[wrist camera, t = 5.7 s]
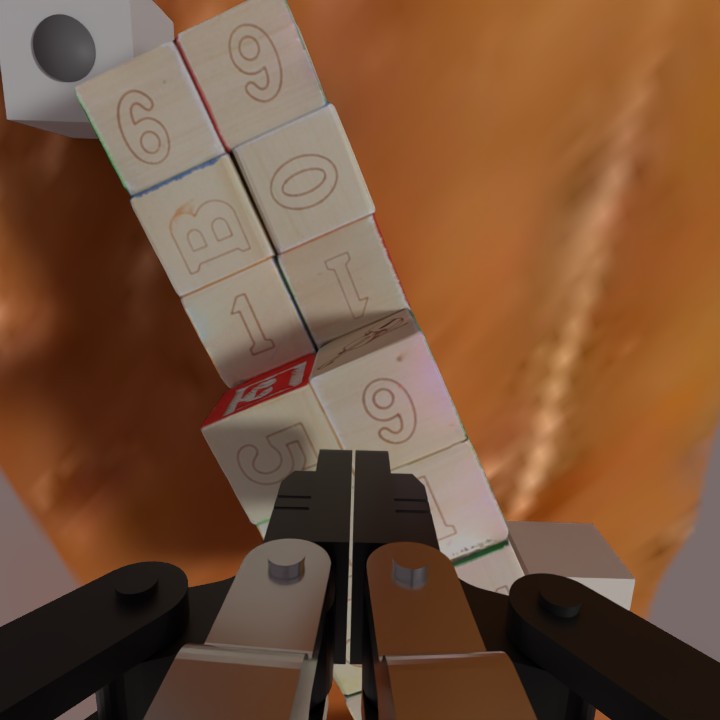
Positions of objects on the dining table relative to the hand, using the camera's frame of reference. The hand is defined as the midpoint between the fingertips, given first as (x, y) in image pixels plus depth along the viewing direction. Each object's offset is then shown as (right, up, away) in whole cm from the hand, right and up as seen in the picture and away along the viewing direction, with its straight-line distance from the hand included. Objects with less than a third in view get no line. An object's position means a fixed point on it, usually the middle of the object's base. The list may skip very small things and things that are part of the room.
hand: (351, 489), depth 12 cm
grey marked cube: (-10, +14, +11) cm, 20 cm away
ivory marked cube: (+10, -8, +16) cm, 20 cm away
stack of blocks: (0, +4, +14) cm, 14 cm away
